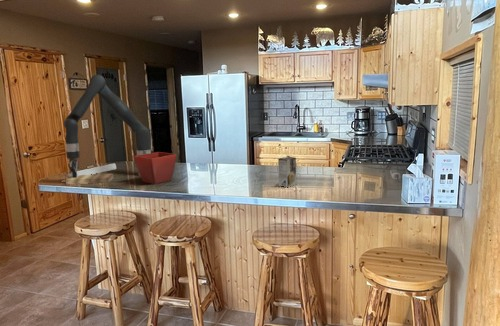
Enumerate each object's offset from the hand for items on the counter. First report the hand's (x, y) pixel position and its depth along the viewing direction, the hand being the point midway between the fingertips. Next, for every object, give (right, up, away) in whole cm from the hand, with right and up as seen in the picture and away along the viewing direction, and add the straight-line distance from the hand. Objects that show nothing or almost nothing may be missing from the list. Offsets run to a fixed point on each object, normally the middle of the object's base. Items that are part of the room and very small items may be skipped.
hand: (74, 177), depth 232 cm
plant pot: (+53, -3, -4) cm, 53 cm away
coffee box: (+133, -4, -24) cm, 135 cm away
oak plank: (+4, -3, +1) cm, 5 cm away
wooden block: (+16, -2, +3) cm, 17 cm away
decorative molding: (-2, +1, +32) cm, 32 cm away
